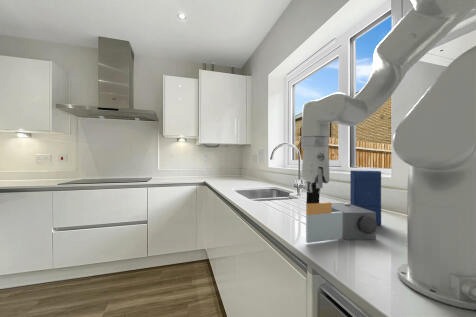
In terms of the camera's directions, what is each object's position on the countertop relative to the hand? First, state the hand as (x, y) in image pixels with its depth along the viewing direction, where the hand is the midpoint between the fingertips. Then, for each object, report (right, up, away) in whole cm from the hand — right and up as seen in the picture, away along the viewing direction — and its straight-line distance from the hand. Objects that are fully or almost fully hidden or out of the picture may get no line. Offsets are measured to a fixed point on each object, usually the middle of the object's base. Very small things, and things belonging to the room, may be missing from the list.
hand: (312, 205), depth 60 cm
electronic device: (+26, -11, +17) cm, 33 cm away
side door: (+3, -10, -1) cm, 10 cm away
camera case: (+14, -11, +8) cm, 19 cm away
